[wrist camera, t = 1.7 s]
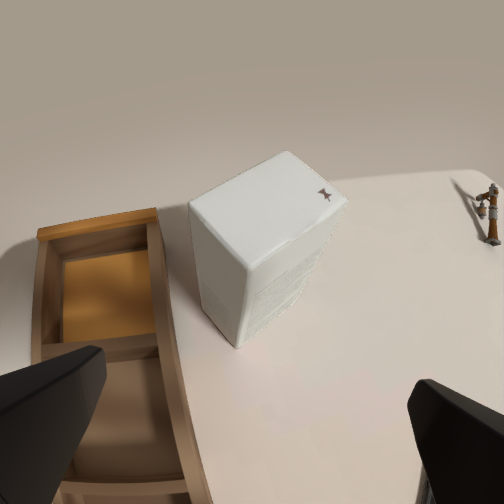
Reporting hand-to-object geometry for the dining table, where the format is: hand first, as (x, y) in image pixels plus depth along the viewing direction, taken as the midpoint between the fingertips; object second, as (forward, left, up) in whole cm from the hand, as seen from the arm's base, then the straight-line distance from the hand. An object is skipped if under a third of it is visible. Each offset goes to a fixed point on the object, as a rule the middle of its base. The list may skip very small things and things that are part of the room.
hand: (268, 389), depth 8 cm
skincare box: (+7, +3, -14) cm, 16 cm away
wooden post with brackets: (+31, -18, -14) cm, 38 cm away
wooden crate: (-5, +6, -13) cm, 16 cm away
